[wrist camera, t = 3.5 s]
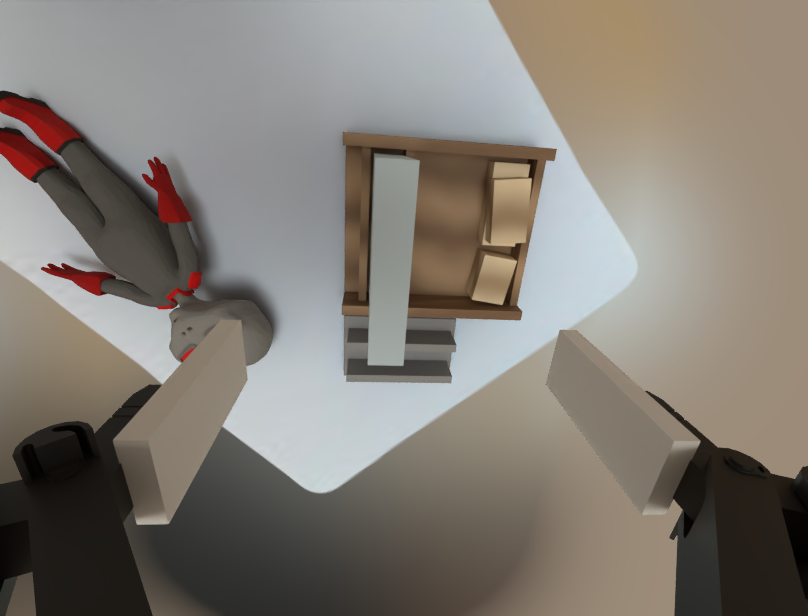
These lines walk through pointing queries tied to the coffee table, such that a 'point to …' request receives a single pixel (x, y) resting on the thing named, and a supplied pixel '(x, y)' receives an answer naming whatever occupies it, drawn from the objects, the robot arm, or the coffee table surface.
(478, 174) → the rack
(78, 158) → the toy
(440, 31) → the coffee table surface
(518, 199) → the offcut
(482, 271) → the offcut
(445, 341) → the stand
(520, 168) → the offcut
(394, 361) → the grey flat slab
